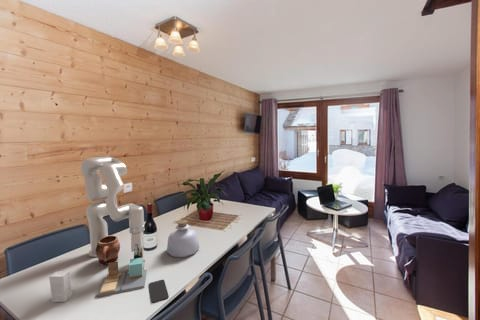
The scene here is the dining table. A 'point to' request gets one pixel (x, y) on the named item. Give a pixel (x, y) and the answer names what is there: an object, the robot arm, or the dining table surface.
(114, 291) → the lane board
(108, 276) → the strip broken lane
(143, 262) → the strip cube lane
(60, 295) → the skincare box
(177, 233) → the light grey vase
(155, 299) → the phone
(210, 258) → the dining table surface
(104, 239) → the decorative planter
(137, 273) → the cube
